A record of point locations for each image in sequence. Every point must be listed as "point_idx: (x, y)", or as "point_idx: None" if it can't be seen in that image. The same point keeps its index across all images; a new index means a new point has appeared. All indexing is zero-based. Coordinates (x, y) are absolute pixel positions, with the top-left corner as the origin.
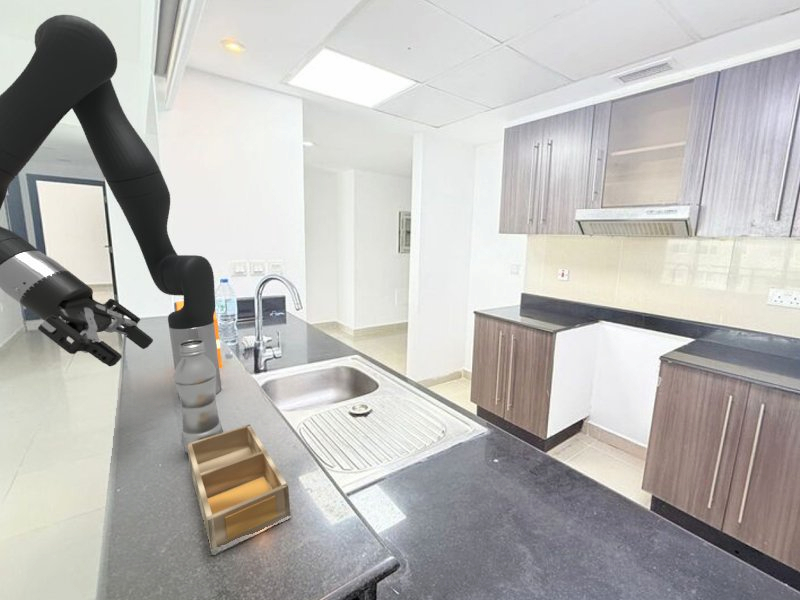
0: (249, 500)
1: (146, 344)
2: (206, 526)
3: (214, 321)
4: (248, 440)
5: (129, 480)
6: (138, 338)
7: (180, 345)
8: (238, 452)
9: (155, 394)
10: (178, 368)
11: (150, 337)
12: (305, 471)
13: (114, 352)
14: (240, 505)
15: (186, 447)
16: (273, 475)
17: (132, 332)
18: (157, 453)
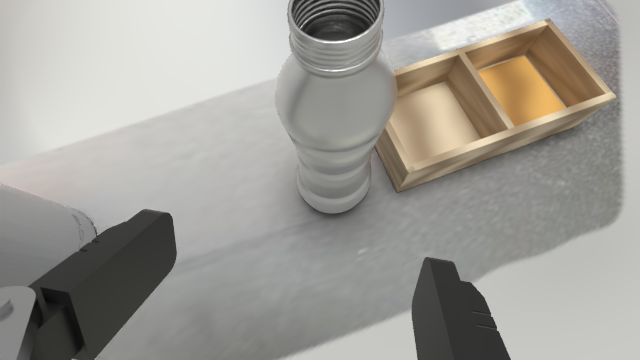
0: (577, 56)
1: (170, 240)
2: (571, 121)
3: None
4: None
5: (399, 290)
6: (134, 276)
7: (365, 33)
8: None
9: None
10: (371, 105)
11: (136, 215)
12: (431, 42)
13: (456, 280)
14: (587, 65)
15: (362, 198)
16: (506, 43)
17: (92, 310)
18: (319, 270)
